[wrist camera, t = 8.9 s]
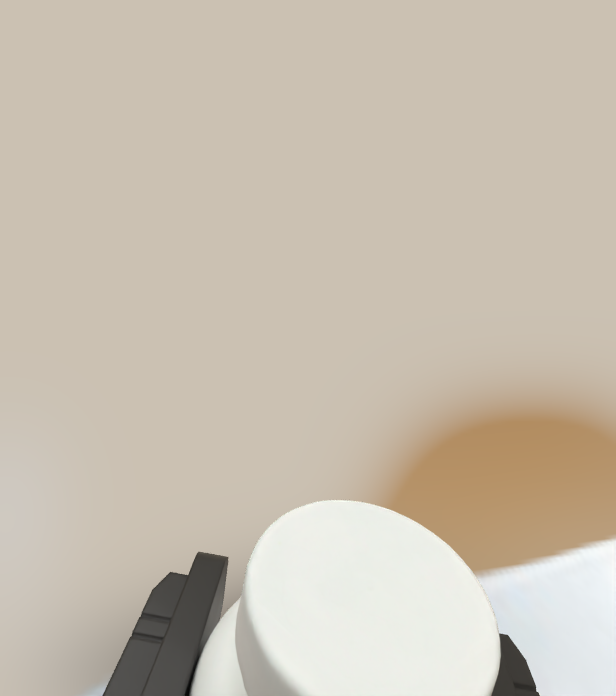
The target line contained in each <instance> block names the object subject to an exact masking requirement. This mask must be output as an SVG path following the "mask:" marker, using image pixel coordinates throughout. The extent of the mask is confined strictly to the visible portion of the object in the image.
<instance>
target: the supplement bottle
mask: <svg viewBox="0 0 616 696" xmlns="http://www.w3.org/2000/svg"><path fill="white" fill-rule="evenodd" d="M500 658H501V651H500V637H499V630H498V625H497V621H496V617H495V614H494V611H493V609H492V606H491V604H490V601H489V599H488V597H487V594H486V593H485V591H484V589H483V588H482V586H481V584H480V582H479V581H478V579H477V578H476V576H475V575H474V573H473V572H472V571H471V569H470V568H469V567H468V566H467V565H466V564H465V562H464V561H463V560H462V559H461V558H460V557H459V556H458V555H457V553H456V552H455V551H454V550H453V549H452V548H451V547H450V546H449V545H448V544H446V543H445V542H444V541H443V540H441V539H440V538H439V537H437V536H436V535H435V534H433V533H432V532H431V531H429V530H428V529H426V528H424V527H423V526H421V525H420V524H418V523H417V522H415V521H413V520H411V519H409V518H408V517H405V516H403V515H401V514H398V513H396V512H394V511H392V510H389V509H386V508H383V507H380V506H376V505H373V504H368V503H364V502H355V501H348V500H326V501H320V502H315V503H311V504H307V505H303V506H301V507H298V508H296V509H294V510H292V511H289V512H288V513H286V514H284V515H283V516H282V517H280V518H279V519H277V520H276V521H275V522H274V523H273V524H272V525H271V526H269V527H268V528H267V530H266V531H265V532H264V534H263V535H262V536H261V538H260V539H259V541H258V542H257V544H256V546H255V547H254V550H253V552H252V555H251V557H250V560H249V562H248V565H247V568H246V573H245V578H244V583H243V589H242V594H241V598H240V599H239V600H238V601H237V602H236V603H235V604H234V605H233V606H232V607H231V608H230V609H229V610H228V611H227V612H226V613H225V615H224V616H223V617H222V618H221V620H220V621H219V623H218V624H217V626H216V627H215V629H214V630H213V632H212V633H211V635H210V637H209V638H208V640H207V642H206V644H205V646H204V648H203V650H202V653H201V655H200V658H199V660H198V663H197V666H196V669H195V672H194V675H193V679H192V682H191V686H190V691H189V696H491V695H492V692H493V688H494V685H495V682H496V679H497V676H498V672H499V666H500Z"/></svg>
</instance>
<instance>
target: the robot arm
mask: <svg viewBox="0 0 616 696" xmlns="http://www.w3.org/2000/svg"><path fill="white" fill-rule="evenodd" d="M227 566H228V557H225V556H220V555H214V554H209V553H203V552H198V553H197V555H196V557H195V559H194V562H193V564H192V567H191V570H190V572H189V575H183V574H178V573H173V572H170V573H169V574H168V575H167V576H166V577H165V578H164V579H163V580H162V581H161V582H160V583H159V584H158V585H157V586H156V587H155V588H154V589H153V590H152V592H151V594H150V596H149V598H148V600H147V603H146V605H145V607H144V609H143V611H142V614H141V617H139V620H138V622H137V624H136V626H135V628H134V630H133V633H132V636H131V637H130V639H129V641H128V643H127V645H126V647H125V649H124V651H123V654H122V656H121V658H120V660H119V662H118V664H117V666H116V669H115V670H114V673H113V675H112V677H111V679H110V681H109V683H108V685H107V687H106V690H105V692H104V694H103V696H189V691H190V686H191V682H192V679H193V675H194V672H195V669H196V666H197V663H198V660H199V658H200V655H201V653H202V650H203V648H204V646H205V644H206V642H207V640H208V638H209V637H210V635H211V633H212V632H213V630H214V629H215V627H216V626H217V624H218V623H219V619H220V615H221V610H222V605H223V599H224V591H225V582H226V574H227ZM499 637H500V651H501V658H500V666H499V672H498V676H497V679H496V682H495V685H494V688H493V692H492V695H491V696H540V695H539V693H538V692H536V685H535V683H534V680H533V677H532V675H531V672H530V670H529V667H528V665H527V662H526V660H525V658H524V657H523V655H522V654H521V653H520V651H519V650H518V648H517V647H516V646H515V644H514V643H513V642H512V640H511V639H510V637H509V636H508V635H504V634H499Z"/></svg>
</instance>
